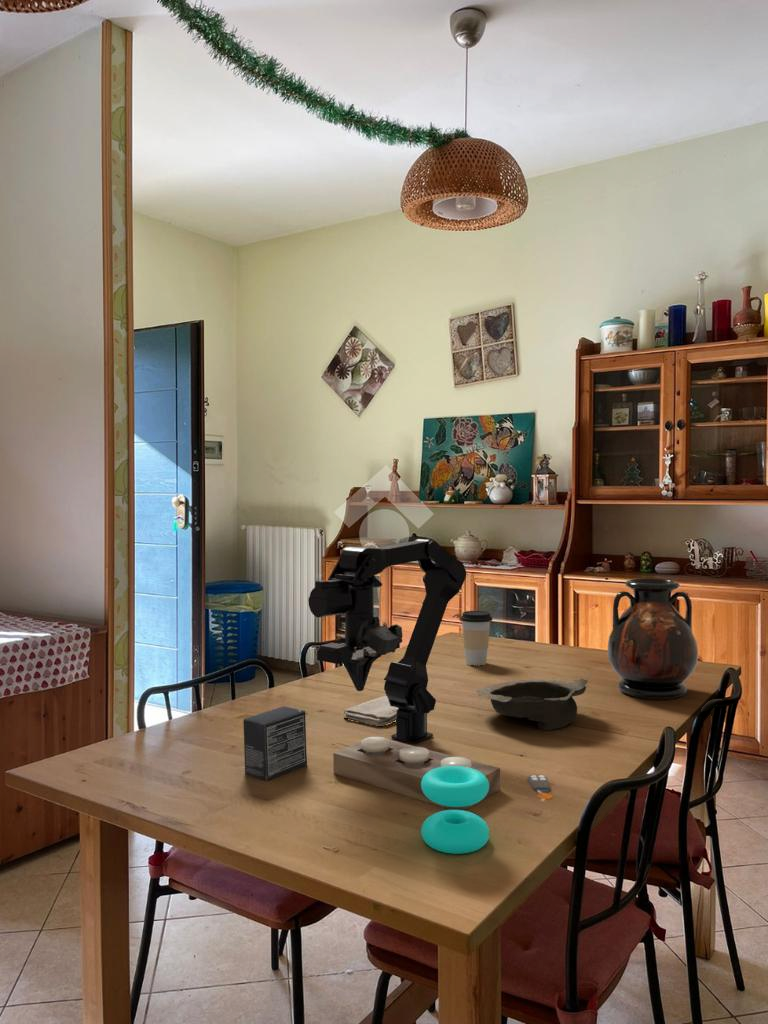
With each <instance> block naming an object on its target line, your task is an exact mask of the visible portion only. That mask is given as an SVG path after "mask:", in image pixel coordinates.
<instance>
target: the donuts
mask: <svg viewBox="0 0 768 1024" xmlns="http://www.w3.org/2000/svg"><path fill="white" fill-rule="evenodd" d="M421 788H422V791H423V793H424V794H425V796H426V797H427V798H429V799H430V800H431V801H433V802H435V803H437V804H440V805H444V806H449V807H464V806H469V805H473V804H475V803H477V804H478V803H480V802H481V800H482V799H483V798H484V797H485V796H486V795H487V793H488V790H489V782H488V780H487V778H486V777H485V775H484V774H482V773H481V772H479V771H478V770H475V769H472V768H469V767H463V766H443V767H438V768H435V769H432V770H430V771H429V772H427V773H426V774H425V775H424V776H423V778H422V781H421ZM479 801H480V802H479ZM482 801H483V800H482ZM475 805H476V804H475ZM473 806H474V805H473ZM489 829H490V828H489V825H488V824H487V822H486V820H484V819H483V818H482V817H480V815H478V814H475V813H473V812H471V811H467V810H465V811H463V810H451V809H446V810H445V809H444V810H441V811H440V810H439V811H437V812H435V813H432V814H431V815H429V816H427V818H426V819H425V820H424V821H423V823H422V825H421V829H420V830H421V831H420V833H421V837H422V839H423V841H424V843H426V845H428V846H429V847H430V848H431V849H433V850H435V851H439V852H441V853H446V854H453V855H455V854H456V855H459V854H460V855H461V854H469V853H473V852H476V851H478V850H480V849H482V848H483V847H484V846H485V845H486V844H487V843H488V841H489V838H490V830H489Z"/></svg>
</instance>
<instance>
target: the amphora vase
mask: <svg viewBox="0 0 768 1024" xmlns="http://www.w3.org/2000/svg"><path fill="white" fill-rule="evenodd" d="M624 584H625V586H626V587H627V588H629V589H631V590H632V592H633V594H632V593H630V592H629V591H620V592H617V594H616V596H615V597H614V599H613V605H612V631H611V632H610V634H609V636H608V642H607V658H608V662H609V664H610V666H611V667H612V669H613V671H614V672H615V673H616V674H617V675H618V676H619V678H621V679H619V681H618V682H617V688H618V689H619V690H620V691H621V693H624V694H627V695H628V696H632V697H635V698H640V699H648V700H673V699H677V698H682V696H684V695H685V694H686V693H687V692H688V688H687V686H686V684H684V682H685V681H687V679H689V678H690V677H691V675H692V674H693V672H694V671H695V669H696V667H697V665H698V662H699V649H698V642H697V640H696V638H695V635H694V633H693V629H692V628H693V627H692V626H693V624H692V622H693V621H692V619H693V618H692V617H693V615H692V612H693V609H692V608H693V607H692V606H693V605H692V600H691V598H690V596H689V594H688V593H686V592H685V591H676V592H674V593H673V594H672V592H673V591H674V590H677V589H678V588H679V587H680V583H679V582H678V581H676V580H672V579H665V578H650V577H649V578H648V577H647V578H644V577H643V578H632V579H629V580H626V581H625V582H624ZM623 597H627V598H628V599H629V602H630V603H629V604H630V605H629V607H627V609H626V610H624V612H623V613H622V614H621V615H620V616H619V604H620V600H621V598H623ZM679 597H682V598H683V599H684V601H685V602H684V603H685V617H684V616H683V615H682V614H681V613H680V612H679V611H678V610H677V609H676V607H675V601H676V600H677V599H678V598H679Z"/></svg>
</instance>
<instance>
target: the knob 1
mask: <svg viewBox="0 0 768 1024" xmlns="http://www.w3.org/2000/svg"><path fill="white" fill-rule="evenodd" d="M389 740H390V739H388V738H387V737H383V736H376V737H375V736H369V737H365V738H362V739H361V741H360V742H361V749H362V750H364V751H366V753H367V754H370V755H374V756H379V755H381V754H384V753H385V751H386V750H388V749H389Z"/></svg>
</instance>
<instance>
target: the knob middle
mask: <svg viewBox="0 0 768 1024" xmlns="http://www.w3.org/2000/svg"><path fill="white" fill-rule="evenodd" d="M428 750H429V749H428V748H426V747H423V746H414V745H412V747H405V748H402V749H401V750H400V751H399V758H400V760H401V761H403V762H404V764H407V765H410V766H414V767H419V766H421V765H423V764H424V762H425V761H427V760H428V759H429V751H428Z"/></svg>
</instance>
